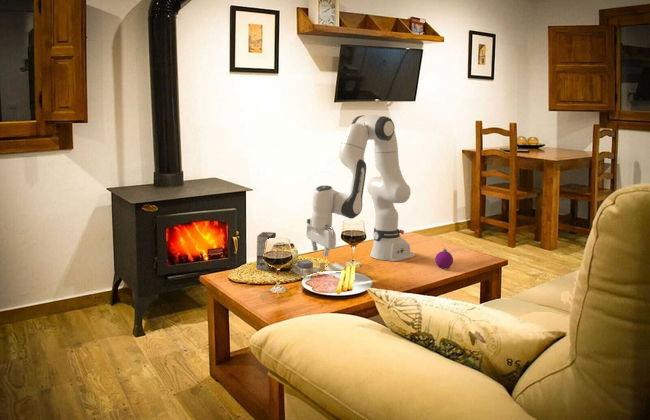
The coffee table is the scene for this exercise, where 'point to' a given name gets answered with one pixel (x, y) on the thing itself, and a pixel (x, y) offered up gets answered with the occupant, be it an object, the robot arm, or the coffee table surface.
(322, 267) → the cord block
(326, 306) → the coffee table surface
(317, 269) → the lane shelf
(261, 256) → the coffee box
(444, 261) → the christmas ornament
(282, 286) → the coffee table surface
